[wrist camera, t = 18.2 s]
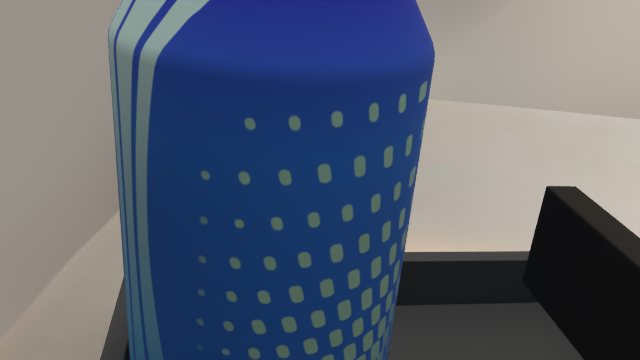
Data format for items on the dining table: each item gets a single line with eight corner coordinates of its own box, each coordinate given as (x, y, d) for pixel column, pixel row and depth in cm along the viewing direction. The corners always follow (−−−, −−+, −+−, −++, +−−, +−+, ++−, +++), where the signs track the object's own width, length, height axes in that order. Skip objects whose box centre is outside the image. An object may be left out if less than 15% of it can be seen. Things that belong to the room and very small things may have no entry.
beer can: (295, 320, 27) (323, -63, 20) (424, 454, 20) (525, -37, 14) (104, 387, 22) (61, -79, 16) (195, 586, 16) (185, -51, 9)
